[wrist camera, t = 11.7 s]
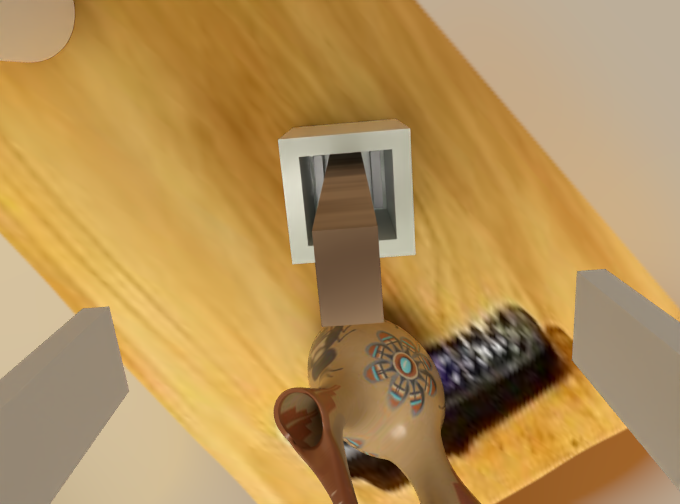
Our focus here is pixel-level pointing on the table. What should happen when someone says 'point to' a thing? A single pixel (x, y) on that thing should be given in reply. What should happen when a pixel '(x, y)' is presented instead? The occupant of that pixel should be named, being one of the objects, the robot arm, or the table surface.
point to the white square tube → (381, 171)
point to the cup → (34, 28)
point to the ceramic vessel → (371, 411)
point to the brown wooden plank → (347, 246)
